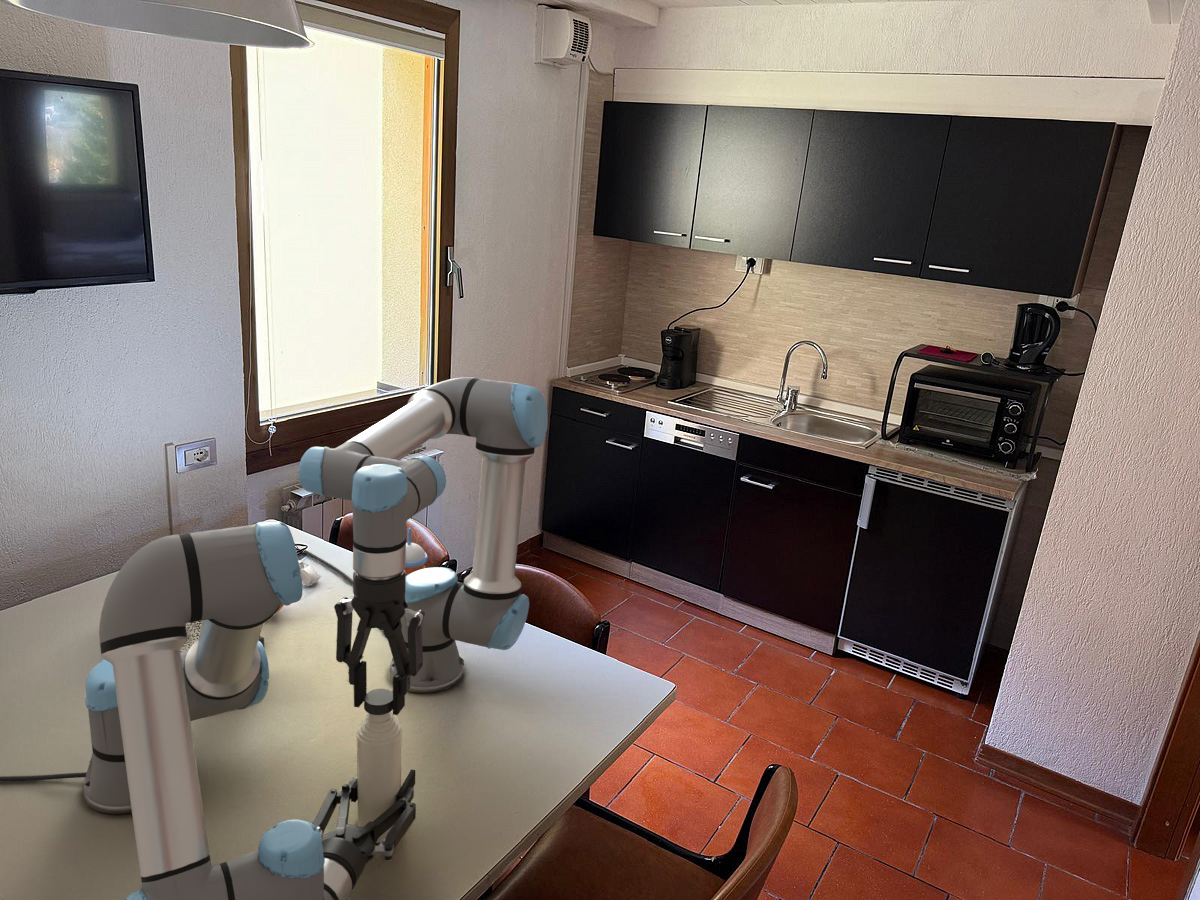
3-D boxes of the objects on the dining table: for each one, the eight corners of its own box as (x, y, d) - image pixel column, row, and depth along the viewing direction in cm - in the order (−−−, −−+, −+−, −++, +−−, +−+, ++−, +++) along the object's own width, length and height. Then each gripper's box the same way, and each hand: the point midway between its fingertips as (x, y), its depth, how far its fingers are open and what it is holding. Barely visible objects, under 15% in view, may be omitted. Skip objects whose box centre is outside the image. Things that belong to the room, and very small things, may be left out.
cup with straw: (418, 605, 211) (419, 537, 205) (383, 599, 212) (384, 532, 207) (432, 589, 219) (433, 524, 214) (399, 583, 221) (399, 519, 215)
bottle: (408, 831, 139) (409, 704, 131) (368, 849, 134) (368, 718, 127) (389, 807, 144) (390, 683, 136) (350, 823, 139) (349, 696, 132)
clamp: (253, 565, 223) (254, 542, 221) (265, 560, 226) (266, 537, 224) (309, 593, 215) (310, 569, 213) (320, 588, 218) (321, 564, 216)
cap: (369, 718, 129) (369, 708, 129) (360, 702, 133) (360, 692, 132) (399, 710, 132) (399, 700, 131) (388, 695, 135) (388, 685, 135)
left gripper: (263, 886, 122) (335, 781, 144) (395, 911, 120) (448, 801, 142) (261, 843, 120) (334, 743, 142) (396, 868, 118) (449, 763, 139)
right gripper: (449, 569, 127) (445, 703, 134) (333, 550, 130) (335, 682, 137) (429, 591, 120) (426, 731, 127) (307, 570, 123) (311, 708, 130)
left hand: (391, 772), depth 142 cm, fingers closed on bottle, 7 cm apart
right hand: (379, 705), depth 132 cm, fingers open, 6 cm apart
